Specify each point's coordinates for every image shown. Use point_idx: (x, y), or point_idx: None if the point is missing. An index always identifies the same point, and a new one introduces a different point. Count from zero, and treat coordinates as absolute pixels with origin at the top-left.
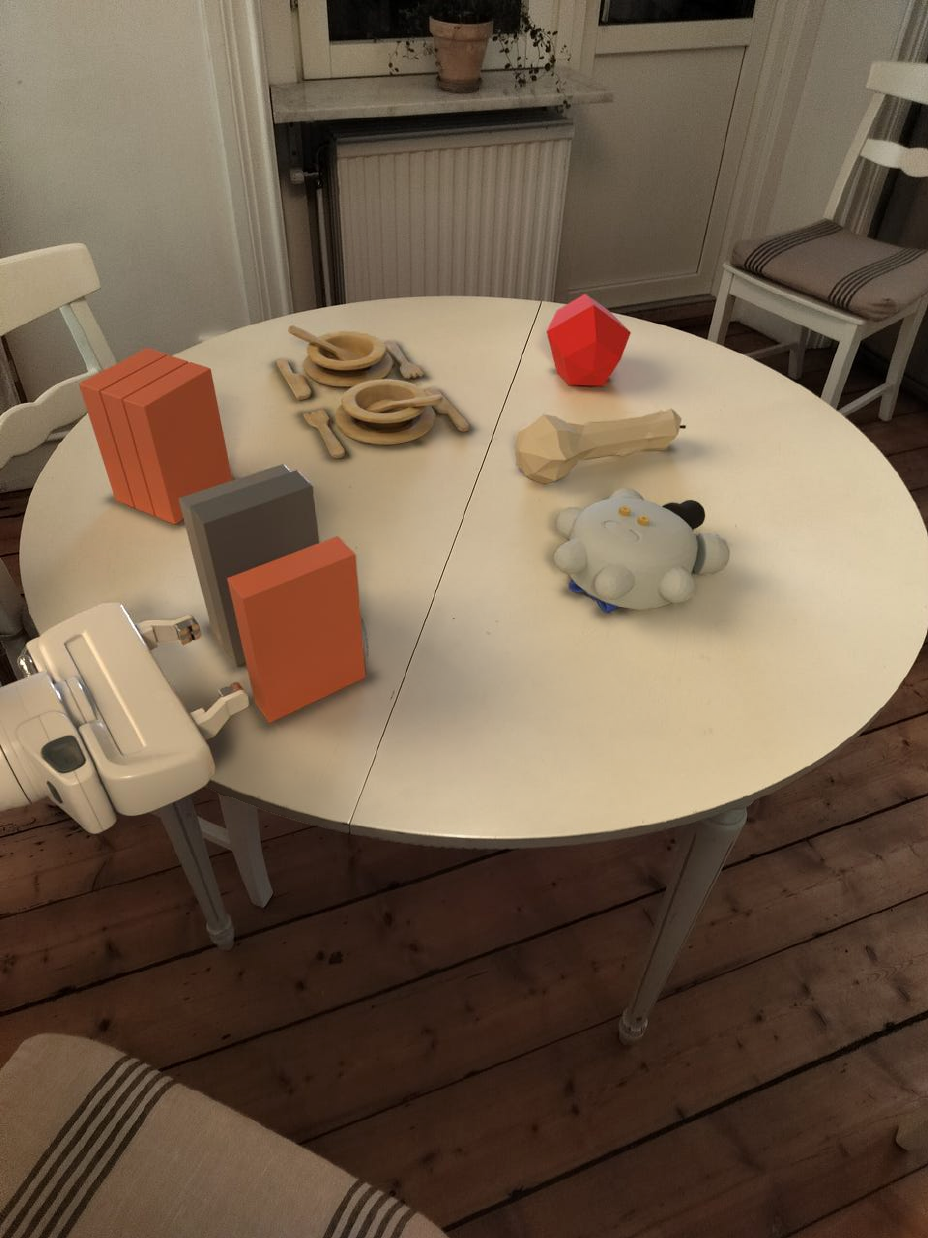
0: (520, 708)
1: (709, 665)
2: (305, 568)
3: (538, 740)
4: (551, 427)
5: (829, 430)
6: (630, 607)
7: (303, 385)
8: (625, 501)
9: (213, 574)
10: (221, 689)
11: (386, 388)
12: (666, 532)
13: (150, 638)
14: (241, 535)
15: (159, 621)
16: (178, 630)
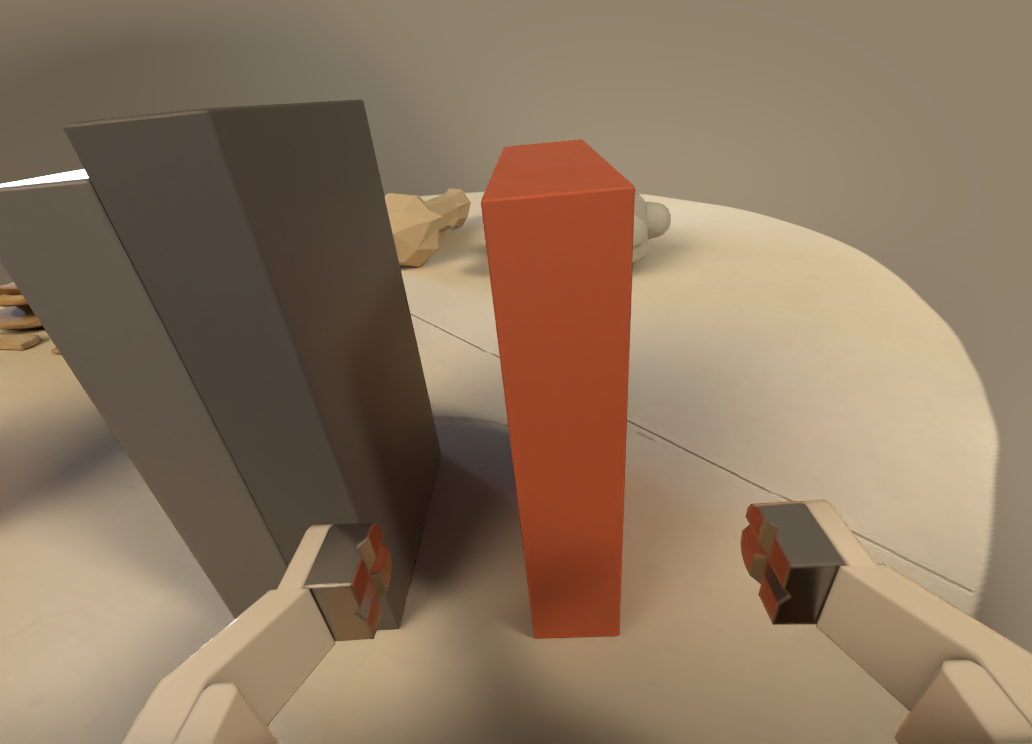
0: (734, 349)
1: (725, 259)
2: (575, 154)
3: (797, 352)
4: (408, 196)
5: None
6: (639, 257)
7: (17, 335)
8: None
9: (284, 371)
10: (792, 554)
11: None
12: None
13: (247, 739)
14: (308, 208)
15: (226, 635)
16: (347, 587)
